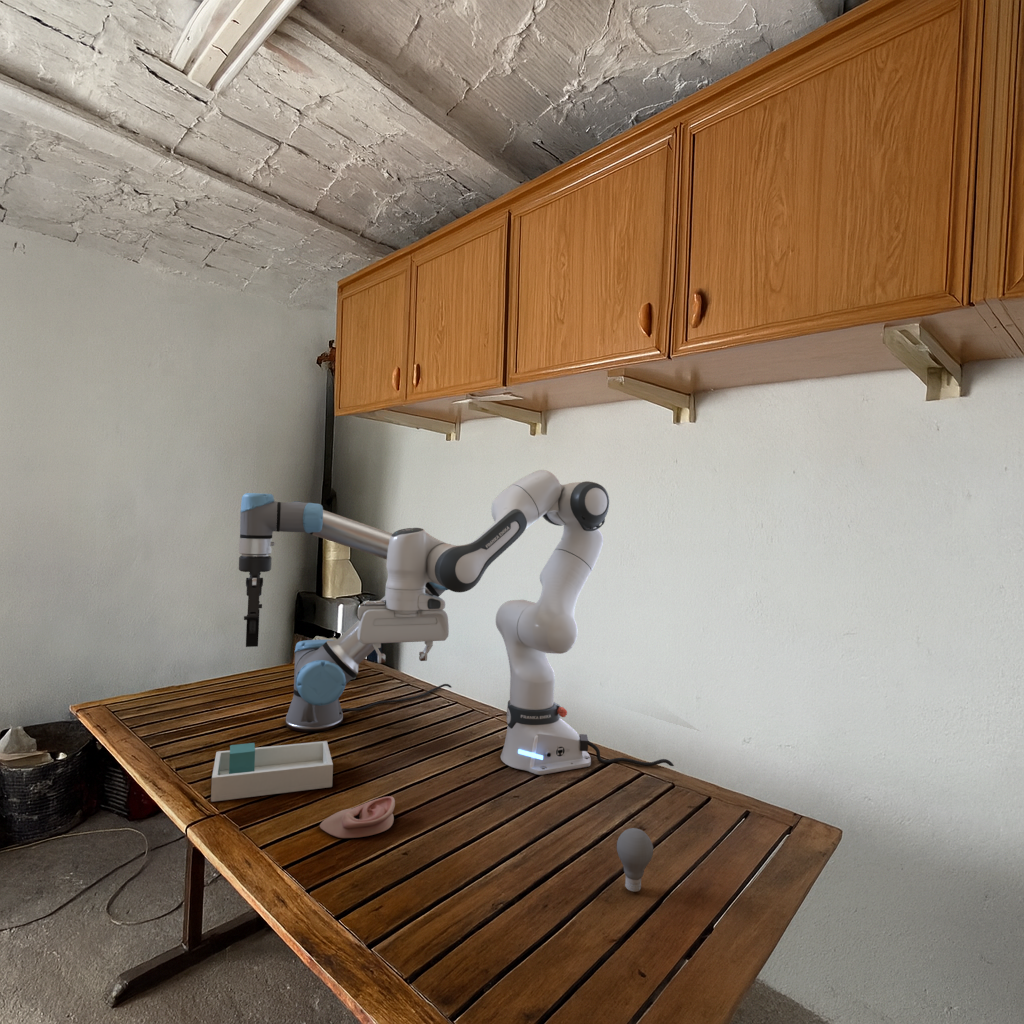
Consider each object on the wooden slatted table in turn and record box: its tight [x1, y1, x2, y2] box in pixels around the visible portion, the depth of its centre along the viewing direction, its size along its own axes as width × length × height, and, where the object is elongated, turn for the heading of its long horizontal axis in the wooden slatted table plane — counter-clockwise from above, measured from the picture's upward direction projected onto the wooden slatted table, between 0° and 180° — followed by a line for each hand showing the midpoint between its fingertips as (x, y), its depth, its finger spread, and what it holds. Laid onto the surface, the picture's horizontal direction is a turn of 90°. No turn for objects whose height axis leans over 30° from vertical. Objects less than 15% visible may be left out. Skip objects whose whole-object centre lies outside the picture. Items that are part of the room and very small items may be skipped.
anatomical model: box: [319, 795, 396, 839], centre depth 123 cm, size 13×4×12 cm
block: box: [229, 742, 256, 774], centre depth 138 cm, size 5×5×7 cm
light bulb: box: [616, 827, 654, 893], centre depth 106 cm, size 6×6×10 cm
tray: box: [210, 740, 334, 803], centre depth 140 cm, size 24×14×5 cm, turn 112°
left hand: (252, 640), depth 158 cm, fingers open, 13 cm apart
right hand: (402, 661), depth 142 cm, fingers open, 8 cm apart
